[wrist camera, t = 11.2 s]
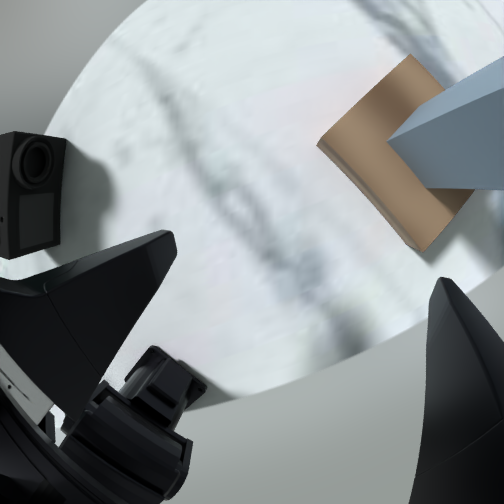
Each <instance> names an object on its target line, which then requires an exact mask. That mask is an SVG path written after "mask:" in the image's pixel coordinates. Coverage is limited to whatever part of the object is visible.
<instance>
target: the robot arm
mask: <svg viewBox="0 0 504 504" xmlns="http://www.w3.org/2000/svg"><path fill="white" fill-rule="evenodd" d="M176 256H177V247H176V243H175V238H174V234H173V232H171V231H168V230H159V231H156V232H153V233H150V234H147V235H144V236H142V237H139V238H136V239H133V240H130V241H127V242H124V243H122V244H119V245H116V246H113V247H110V248H108V249H105V250H102V251H99V252H97V253H94V254H91V255H89V256H86V257H83V258H81V259H79V260H75V261H73V262H70V263H67V264H65V265H62V266H59V267H57V268H54V269H51V270H48V271H45V272H42V273H39V274H37V275H34V276H31V277H28V278H25V279H22V280H9V279H5V278H2V277H0V504H160V503H161V502H162V501H163V500H170V499H171V498H172V497H173V496H175V495H176V493H177V492H178V491H179V490H180V488H181V487H182V485H183V484H184V482H185V479H186V477H187V475H188V470H189V465H190V459H191V452H192V446H193V441H191V440H189V439H185V438H184V437H182V436H181V435H179V434H177V433H176V432H174V430H175V428H176V426H177V424H178V421H179V419H180V417H181V415H182V413H183V411H184V410H185V409H186V408H187V407H189V406H190V405H191V404H192V403H193V402H195V401H196V400H197V399H198V398H199V397H200V396H202V395H203V394H204V393H205V392H206V390H207V387H206V385H205V384H203V383H202V382H201V381H199V380H198V379H197V378H195V377H194V376H193V375H191V374H190V373H189V372H187V371H186V370H185V369H183V368H182V367H181V366H179V365H178V364H177V363H176V362H174V361H173V360H172V359H171V358H169V357H168V356H167V355H166V354H164V353H163V352H162V351H161V350H160V349H158V348H157V347H156V346H153V345H152V346H150V347H149V348H148V349H147V351H146V352H145V353H144V354H143V356H142V357H141V358H140V359H139V361H138V362H137V363H136V364H135V366H134V367H133V368H132V370H131V371H130V372H129V373H128V375H127V376H126V377H125V379H124V380H125V382H126V383H125V385H124V386H123V387H122V388H121V389H120V391H119V392H117V391H116V390H115V389H114V388H112V387H111V386H110V385H109V383H108V382H107V381H105V380H103V381H102V382H101V383H100V384H99V382H100V380H101V379H102V377H103V375H104V373H105V372H106V370H107V368H108V367H109V365H110V363H111V362H112V360H113V359H114V357H115V355H116V354H117V352H118V350H119V349H120V347H121V346H122V344H123V342H124V341H125V339H126V338H127V336H128V335H129V333H130V331H131V330H132V328H133V327H134V325H135V324H136V322H137V321H138V319H139V317H140V316H141V314H142V313H143V311H144V310H145V308H146V307H147V305H148V304H149V302H150V301H151V299H152V298H153V296H154V295H155V293H156V292H157V290H158V289H159V287H160V285H161V283H162V282H163V280H164V278H165V276H166V274H167V272H168V271H169V269H170V267H171V265H172V263H173V262H174V260H175V258H176ZM152 350H153V351H154V352H153V351H152ZM200 388H202V389H200ZM54 404H55V405H56V406H58V407H59V408H60V409H61V410H62V411H63V412H64V413H65V418H64V421H63V422H64V423H63V424H62V426H61V431H62V432H64V433H65V434H66V437H65V439H64V440H63V442H62V443H61V445H60V446H59V447H58V446H57V445H56V444H55V421H54V415H53V414H52V413H51V412H50V411H49V410H50V409H51V408H52V406H53V405H54ZM409 504H504V342H503V341H502V339H501V338H500V337H499V336H498V334H497V333H496V331H495V330H494V329H493V328H492V326H491V325H490V324H489V322H488V321H487V320H486V319H485V317H484V316H483V315H482V314H481V312H480V311H479V310H478V309H477V308H476V306H475V305H474V304H473V303H472V302H471V301H470V300H469V298H468V297H467V296H466V295H465V294H464V293H463V291H462V290H461V289H460V288H459V287H458V286H457V285H456V284H455V283H454V281H453V280H452V279H450V278H445V277H440V278H438V280H437V282H436V285H435V287H434V290H433V292H432V295H431V297H430V300H429V312H428V330H427V344H426V391H425V408H424V419H423V429H422V437H421V446H420V452H419V458H418V464H417V469H416V474H415V479H414V484H413V488H412V492H411V496H410V500H409Z"/></svg>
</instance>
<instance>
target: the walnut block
mask: <svg viewBox="0 0 504 504" xmlns="http://www.w3.org/2000/svg"><path fill="white" fill-rule="evenodd" d="M443 91H445V89H444V88H443V87H442V86H441V85H440V84H439V82H438V81H437V80H436V79H435V78H434V77H433V76H432V75H431V74H430V73H429V72H428V71H427V70H426V69H425V68H424V67H423V66H422V65H421V64H420V63H419V62H418V61H417V60H416V59H415V58H414V57H413V56H412V55H411V54H409V55H408V56H407V57H406V58H405V59H404V60H403V61H402V62H401V63H399V64H398V65H397V66H396V67H395V68H394V69H393V70H392V71H391V72H390V73H389V74H387V75H386V76H385V77H384V78H383V79H382V80H381V81H380V82H379V83H378V84H377V85H376V86H374V87H373V88H372V89H371V90H370V91H369V92H368V93H367V94H366V95H365V96H364V97H363V98H362V99H361V100H360V101H358V102H357V103H356V104H355V105H354V106H353V107H352V108H351V109H350V110H349V111H348V112H347V113H346V114H345V115H344V116H343V117H342V118H341V119H340V120H339V121H338V122H337V123H335V124H334V125H333V126H332V127H331V128H330V129H329V130H328V131H327V132H326V133H325V134H324V135H323V136H322V137H321V139H320V140H319V142H318V143H317V145H316V146H317V147H318V148H319V149H320V150H321V151H323V152H324V153H325V154H326V155H327V156H328V157H329V158H330V159H331V160H332V161H333V162H334V163H335V164H336V165H337V166H338V167H339V168H340V169H341V170H342V172H343V173H344V174H345V175H346V176H347V177H348V178H349V179H350V180H351V181H352V182H353V183H354V184H355V185H356V186H357V187H358V188H359V190H360V191H361V192H362V193H363V194H364V195H365V196H366V197H367V198H368V199H369V201H370V202H371V203H372V204H373V205H374V206H375V207H376V209H377V210H378V211H379V212H380V213H381V214H382V216H383V217H384V218H385V219H386V220H387V221H388V223H389V224H390V225H391V226H392V227H393V229H394V230H395V231H396V232H397V234H398V235H399V236H400V237H401V239H402V240H403V241H404V242H405V244H406V245H408V246H410V247H412V248H415V249H417V250H419V251H421V252H424V251H425V250H426V249H427V248H428V246H429V245H430V244H431V243H432V242H433V241H434V240H435V239H436V237H437V236H438V235H439V234H440V233H441V232H442V230H443V229H444V228H445V227H446V226H447V224H448V223H449V222H450V221H451V220H452V218H453V217H454V216H455V215H456V214H457V212H458V211H459V210H460V209H461V207H462V206H463V205H464V203H465V202H466V201H467V200H468V198H469V197H470V196H471V194H472V193H473V192H474V190H475V189H453V188H425V187H424V185H423V184H422V183H421V182H420V180H419V179H418V178H417V177H416V175H415V174H414V173H413V172H412V170H411V169H410V168H409V167H408V166H407V165H406V163H405V162H404V161H403V160H402V159H401V158H400V156H399V155H398V154H397V153H396V152H395V151H394V150H393V149H392V147H391V146H390V145H389V144H388V143H387V142H386V141H387V140H388V139H389V138H390V137H391V136H392V135H393V134H394V133H395V132H396V131H397V130H398V128H399V127H400V126H401V125H402V124H403V123H404V122H405V121H406V120H407V119H408V118H409V117H410V116H411V115H412V113H413V112H414V111H415V110H416V109H417V108H418V107H419V106H420V105H422V104H423V103H425V102H427V101H428V100H430V99H432V98H433V97H435V96H437V95H438V94H440V93H441V92H443Z"/></svg>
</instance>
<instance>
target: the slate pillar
mask: <svg viewBox="0 0 504 504" xmlns="http://www.w3.org/2000/svg"><path fill="white" fill-rule="evenodd" d="M386 142H387V143H388V144H389V145H390V146H391V147H392V149H393V150H394V151H395V152H396V153H397V154H398V155H399V156H400V158H401V159H402V160H403V161H404V162H405V163H406V165H407V166H408V167H409V168H410V169H411V170H412V172H413V173H414V174H415V175H416V177H417V178H418V179H419V180H420V182H421V183H422V184H423V185H424V187H425V188H453V189H486V190H504V56H503V57H501V58H500V59H498V60H496V61H494V62H493V63H491V64H489V65H487V66H486V67H484V68H482V69H480V70H479V71H477V72H475V73H473V74H472V75H470V76H468V77H467V78H465V79H463V80H461V81H460V82H458V83H456V84H455V85H453V86H451V87H450V88H448V89H446V90H445V91H443V92H441V93H440V94H438V95H437V96H435V97H433V98H432V99H430V100H428V101H427V102H425V103H423V104H422V105H420V106H419V107H418V108H417V109H416V110H415V111H414V112H413V113H412V115H411V116H410V117H409V118H408V119H407V120H406V121H405V122H404V123H403V124H402V125H401V126H400V127H399V128H398V130H397V131H396V132H395V133H394V134H393V135H392V136H391V137H390V138H389V139H388V140H387V141H386Z"/></svg>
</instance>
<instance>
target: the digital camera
mask: <svg viewBox="0 0 504 504" xmlns="http://www.w3.org/2000/svg"><path fill="white" fill-rule="evenodd" d="M65 147H66V139H64V138H59V137H52V136H46V135H38V134H32V133H24V132H17V131H13V132H10V133H6V134H2V135H0V257H2V258H5V259H8V260H10V259H14V258H18V257H21V256H24V255H27V254H30V253H33V252H37V251H40V250H43V249H46V248H50V247H53V246H56V245H59V244H60V203H61V187H62V175H63V164H64V155H65Z"/></svg>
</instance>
